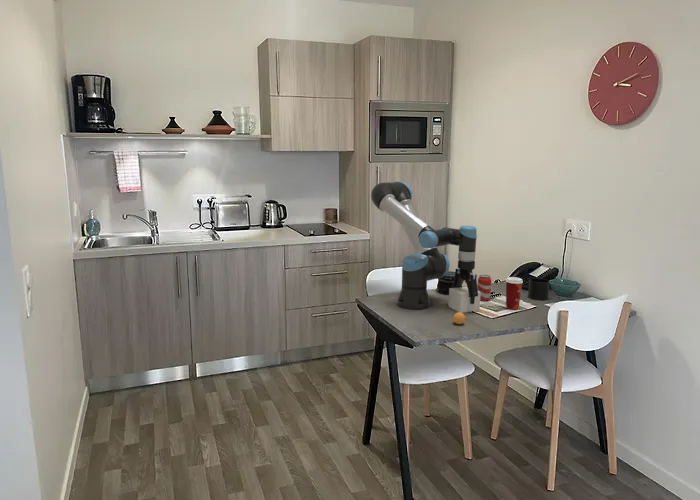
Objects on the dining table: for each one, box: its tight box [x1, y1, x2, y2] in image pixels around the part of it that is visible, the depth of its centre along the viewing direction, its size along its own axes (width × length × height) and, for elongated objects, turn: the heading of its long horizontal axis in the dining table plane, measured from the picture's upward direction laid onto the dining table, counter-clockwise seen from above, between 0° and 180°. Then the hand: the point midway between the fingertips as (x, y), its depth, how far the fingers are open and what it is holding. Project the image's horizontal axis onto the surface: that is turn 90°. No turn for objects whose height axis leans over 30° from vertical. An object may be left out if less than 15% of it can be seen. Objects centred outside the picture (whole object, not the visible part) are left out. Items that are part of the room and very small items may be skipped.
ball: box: [452, 311, 466, 325], centre depth 221 cm, size 5×5×5 cm
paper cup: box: [505, 276, 524, 311], centre depth 244 cm, size 8×8×14 cm
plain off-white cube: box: [448, 286, 481, 314], centre depth 242 cm, size 10×10×9 cm
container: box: [436, 270, 463, 295], centre depth 271 cm, size 13×13×10 cm
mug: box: [527, 277, 550, 301], centre depth 263 cm, size 9×12×9 cm
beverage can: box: [477, 274, 492, 302], centre depth 257 cm, size 6×6×12 cm
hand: (463, 307), depth 243 cm, fingers closed on plain off-white cube, 10 cm apart
